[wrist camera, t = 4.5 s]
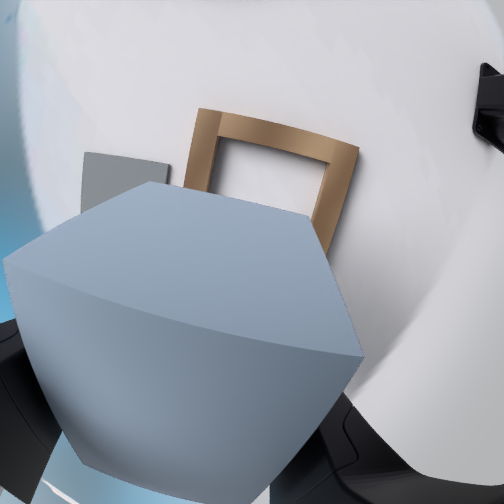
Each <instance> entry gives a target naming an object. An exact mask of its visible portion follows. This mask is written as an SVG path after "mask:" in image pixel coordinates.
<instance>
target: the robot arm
mask: <svg viewBox="0 0 504 504" xmlns="http://www.w3.org/2000/svg"><path fill="white" fill-rule="evenodd" d="M486 68H487V70H486ZM478 126H479V131H478ZM473 131H474V133H475V134H476V135H478V136H479V137H481V138H482V139H484V140H485V141H487V142H488V143H490V144H491V145H492V146H494V147H495V148H497V149H498V150H499V151H501V152H502V153H503V154H504V74H500V73H499V72H498V71H497V70H496V69H494V68H493V67H492V66H490V65H489V64H488V63H482V64H481V67H480V79H479V87H478V95H477V102H476V109H475V115H474V121H473ZM352 406H353V404H352V403H351V401H350V400H349V399H348V398H347V396H346V395H345V394H344V392H342V393H341V395H340V396H339V398H338V399H337V401H336V402H335V404H334V405H333V406H332V408H331V409H330V411H329V412H328V414H327V415H326V416H325V418H324V419H323V420H322V422H321V423H320V425H319V426H318V427H317V429H316V430H315V431H314V432H313V434H312V435H311V436H310V438H309V439H308V440H307V441H306V443H305V444H304V445H303V446H302V448H301V449H300V450H299V451H298V453H297V454H296V455H295V456H294V457H293V459H292V460H291V461H290V462H289V463H288V465H287V466H286V467H285V468H284V469H283V470H282V471H281V473H280V474H279V475H278V476H277V477H276V478H275V479H274V480H273V481H272V482H271V483H270V504H504V484H502V485H494V486H486V485H476V484H468V483H460V482H454V481H448V480H443V479H437V478H432V477H428V476H425V475H422V474H421V473H419V472H417V471H416V470H414V469H413V468H412V467H411V466H409V465H408V464H407V463H406V462H405V461H404V460H403V459H402V458H401V457H400V456H399V455H398V454H397V453H396V452H395V451H394V450H393V449H392V448H391V447H390V446H389V445H388V444H387V443H386V442H385V441H384V440H383V439H382V438H381V437H380V436H379V435H378V434H377V433H376V432H375V431H374V429H373V428H372V427H371V426H370V425H369V424H368V422H367V421H366V420H365V419H364V418H363V417H362V415H361V414H360V413H359V411H358V410H357V409H356V408H355V406H353V407H352ZM61 433H62V429H61V427H60V425H59V423H58V422H57V420H56V418H55V416H54V414H53V412H52V410H51V408H50V406H49V404H48V402H47V400H46V398H45V396H44V393H43V391H42V389H41V387H40V385H39V382H38V380H37V378H36V375H35V373H34V370H33V368H32V365H31V363H30V360H29V357H28V355H27V352H26V349H25V346H24V343H23V340H22V337H21V334H20V331H19V328H18V325H17V321H16V318H15V319H12V320H9V321H6V322H4V323H0V495H1V493H2V491H3V489H5V490H7V491H8V492H10V493H11V494H12V495H14V496H15V497H17V498H18V499H19V500H21V501H22V502H24V503H26V504H30V503H31V501H32V498H33V496H34V493H35V490H36V488H37V486H38V484H39V481H40V479H41V476H42V474H43V472H44V470H45V467H46V465H47V463H48V461H49V458H50V455H51V453H52V451H53V449H54V447H55V445H56V443H57V441H58V439H59V437H60V435H61Z"/></svg>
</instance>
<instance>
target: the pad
mask: <svg viewBox="0 0 504 504" xmlns="http://www.w3.org/2000/svg"><path fill="white" fill-rule="evenodd" d="M169 165H170V164H164V163H159V162H153V161H147V160H140V159H134V158H127V157H121V156H114V155H106V154H99V153H91V152H84V162H83V174H82V189H81V213H83V212H85V211H87V210H89V209H91V208H93V207H95V206H97V205H99V204H101V203H103V202H105V201H107V200H109V199H111V198H113V197H116V196H118V195H120V194H122V193H124V192H126V191H129V190H131V189H133V188H135V187H137V186H140V185H142V184H144V183H147V182H149V181H152V182H157V183H162V184H167V177H168V171H169Z"/></svg>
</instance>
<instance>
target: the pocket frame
mask: <svg viewBox="0 0 504 504" xmlns="http://www.w3.org/2000/svg"><path fill="white" fill-rule="evenodd" d="M220 136H223V137H228V138H233V139H238V140H242V141H247V142H252V143H256V144H260V145H265V146H269V147H273V148H277V149H281V150H285V151H289V152H293V153H297V154H300V155H304V156H308V157H311V158H315V159H318V160H322V161H325V162H327V166H326V170H325V173H324V177H323V180H322V184H321V187H320V191H319V194H318V198H317V201H316V205H315V208H314V211H313V215H312V218H311V223H312V226H313V228H314V230H315V232H316V235H317V237H318V239H319V242H320V244H321V246H322V249H323V251H324V253H325V256H326V254H327V252H328V249H329V246H330V243H331V240H332V237H333V234H334V231H335V228H336V225H337V222H338V219H339V216H340V212H341V209H342V206H343V203H344V200H345V196H346V193H347V190H348V186H349V183H350V180H351V176H352V173H353V169H354V166H355V162H356V159H357V155H358V151H359V147H356V146H354V145H351V144H348V143H345V142H341V141H338V140H335V139H332V138H329V137H325V136H322V135H319V134H315V133H312V132H308V131H305V130H301V129H297V128H294V127H290V126H286V125H282V124H278V123H274V122H269V121H265V120H261V119H256V118H251V117H247V116H242V115H237V114H231V113H226V112H220V111H214V110H208V109H202V108H199V110H198V114H197V119H196V123H195V128H194V133H193V138H192V143H191V148H190V153H189V158H188V164H187V169H186V175H185V180H184V186H183V188H188V189H193V190H198V191H202V192H207V193H209V188H210V183H211V177H212V173H213V168H214V163H215V158H216V153H217V148H218V144H219V139H220Z"/></svg>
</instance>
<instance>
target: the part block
mask: <svg viewBox="0 0 504 504" xmlns="http://www.w3.org/2000/svg"><path fill="white" fill-rule="evenodd" d="M3 265H4V271H5V276H6V281H7V286H8V290H9V294H10V299H11V302H12V307H13V310H14V314H15V318H16V321H17V325H18V328H19V331H20V334H21V337H22V340H23V343H24V346H25V349H26V352H27V355H28V357H29V360H30V363H31V365H32V368H33V370H34V373H35V375H36V378H37V380H38V382H39V385H40V387H41V389H42V391H43V393H44V396H45V398H46V400H47V402H48V404H49V406H50V408H51V410H52V412H53V414H54V416H55V418H56V420H57V422H58V423H59V425H60V427H61V429H62V431H63V432H64V434H65V436H66V438H67V439H68V441H69V443H70V444H71V446H72V448H73V449H74V451H75V452H76V454H77V456H78V457H79V459H80V460H81V462H82V463H83V464H84V465H87V466H89V467H91V468H93V469H95V470H97V471H100V472H102V473H104V474H107V475H109V476H112V477H114V478H117V479H120V480H122V481H125V482H128V483H131V484H133V485H136V486H139V487H142V488H145V489H149V490H152V491H155V492H158V493H162V494H166V495H169V496H173V497H177V498H181V499H186V500H190V501H194V502H199V503H204V504H251V503H252V502H253V501H254V500H255V499H256V498H257V497H258V496H259V495H260V494H261V493H262V492H263V491H264V490H265V489H266V488H267V487H268V486H269V485H270V483H271V482H272V481H273V480H274V479H275V478H276V477H277V476H278V475H279V474H280V473H281V471H282V470H283V469H284V468H285V467H286V466H287V465H288V463H289V462H290V461H291V460H292V459H293V457H294V456H295V455H296V454H297V453H298V451H299V450H300V449H301V448H302V446H303V445H304V444H305V443H306V441H307V440H308V439H309V438H310V436H311V435H312V434H313V432H314V431H315V430H316V429H317V427H318V426H319V425H320V423H321V422H322V420H323V419H324V418H325V416H326V415H327V414H328V412H329V411H330V409H331V408H332V406H333V405H334V404H335V402H336V401H337V399H338V398H339V396H340V395H341V393H342V392H343V390H344V389H345V387H346V386H347V384H348V383H349V381H350V379H351V378H352V376H353V375H354V373H355V371H356V370H357V368H358V367H359V365H360V363H361V362H362V360H363V358H364V355H363V352H362V349H361V346H360V343H359V341H358V338H357V335H356V332H355V330H354V327H353V324H352V321H351V319H350V316H349V313H348V311H347V308H346V305H345V303H344V300H343V298H342V295H341V293H340V290H339V288H338V285H337V282H336V280H335V278H334V275H333V273H332V270H331V268H330V265H329V263H328V260H327V258H326V256H325V253H324V251H323V249H322V246H321V244H320V242H319V239H318V237H317V235H316V232H315V230H314V228H313V226H312V223H311V221H310V219H309V217H308V216H306V215H302V214H298V213H294V212H290V211H286V210H282V209H278V208H274V207H269V206H265V205H261V204H257V203H252V202H248V201H244V200H239V199H235V198H230V197H226V196H221V195H217V194H212V193H207V192H202V191H198V190H193V189H188V188H183V187H178V186H173V185H168V184H162V183H157V182H152V181H149V182H147V183H144V184H142V185H140V186H137V187H135V188H133V189H131V190H129V191H126V192H124V193H122V194H120V195H118V196H116V197H113V198H111V199H109V200H107V201H105V202H103V203H101V204H99V205H97V206H95V207H93V208H91V209H89V210H87V211H85V212H83V213H81V214H79V215H77V216H75V217H74V218H72V219H70V220H68V221H66V222H64V223H62V224H61V225H59V226H57V227H55V228H53V229H52V230H50V231H48V232H46V233H45V234H43V235H41V236H39V237H38V238H36V239H34V240H33V241H31V242H29V243H28V244H26V245H25V246H23V247H21V248H20V249H18V250H16V251H15V252H13V253H12V254H10V255H9V256H7V257H6V258H4V259H3Z"/></svg>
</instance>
